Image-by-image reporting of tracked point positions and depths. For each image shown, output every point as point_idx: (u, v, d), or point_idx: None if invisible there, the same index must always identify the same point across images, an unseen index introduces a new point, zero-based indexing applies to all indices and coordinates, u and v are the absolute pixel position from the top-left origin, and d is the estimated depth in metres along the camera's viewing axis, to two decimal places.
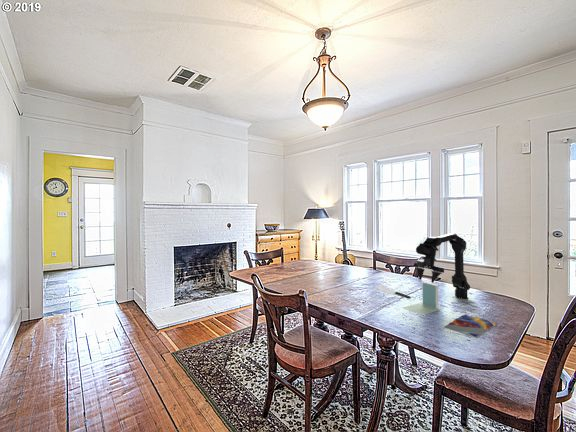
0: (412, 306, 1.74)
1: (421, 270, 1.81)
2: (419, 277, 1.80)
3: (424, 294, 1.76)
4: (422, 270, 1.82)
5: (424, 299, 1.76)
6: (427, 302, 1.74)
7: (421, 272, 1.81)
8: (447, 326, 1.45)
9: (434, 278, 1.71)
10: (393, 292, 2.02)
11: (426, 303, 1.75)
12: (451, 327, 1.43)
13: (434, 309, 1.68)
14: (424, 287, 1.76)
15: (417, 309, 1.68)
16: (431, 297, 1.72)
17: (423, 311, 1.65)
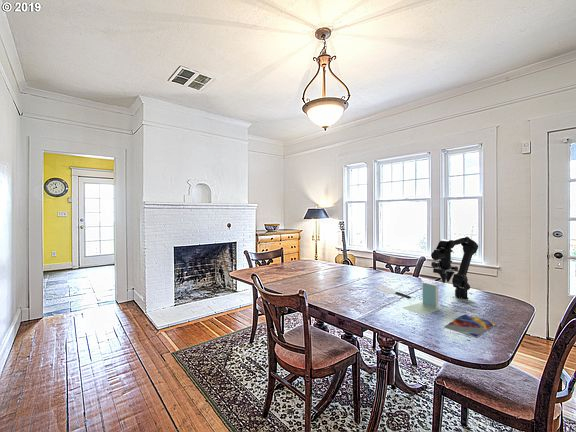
0: (412, 306, 1.74)
1: (448, 273, 1.85)
2: None
3: (424, 294, 1.76)
4: (449, 273, 1.84)
5: (424, 299, 1.76)
6: (427, 302, 1.74)
7: (448, 275, 1.85)
8: (447, 326, 1.45)
9: (442, 279, 1.82)
10: (393, 292, 2.02)
11: (426, 303, 1.75)
12: (451, 327, 1.43)
13: (434, 309, 1.68)
14: (424, 287, 1.76)
15: (417, 309, 1.68)
16: (431, 297, 1.72)
17: (423, 311, 1.65)
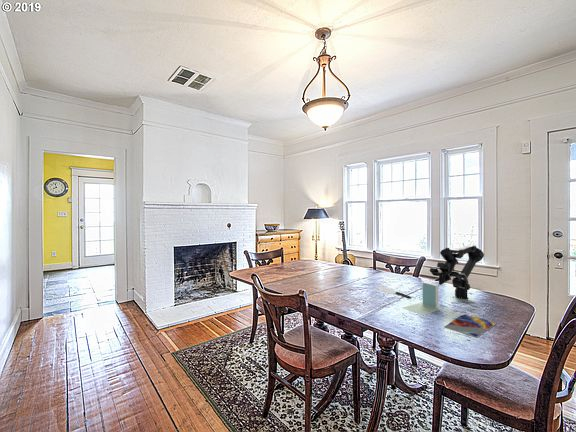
0: (412, 306, 1.74)
1: None
2: (439, 282, 1.79)
3: (424, 294, 1.76)
4: None
5: (424, 299, 1.76)
6: (427, 302, 1.74)
7: None
8: (447, 326, 1.45)
9: (443, 281, 1.78)
10: (393, 292, 2.02)
11: (426, 303, 1.75)
12: (451, 327, 1.43)
13: (434, 309, 1.68)
14: (424, 287, 1.76)
15: (417, 309, 1.68)
16: (431, 297, 1.72)
17: (423, 311, 1.65)
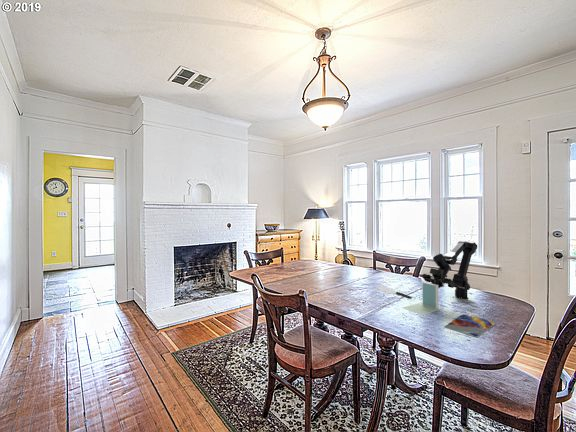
0: (412, 306, 1.74)
1: (435, 283, 1.77)
2: None
3: (424, 294, 1.76)
4: None
5: (424, 299, 1.76)
6: (427, 302, 1.74)
7: None
8: (447, 326, 1.45)
9: None
10: (394, 292, 2.02)
11: (426, 303, 1.75)
12: (451, 327, 1.43)
13: (434, 309, 1.68)
14: (424, 287, 1.76)
15: (417, 309, 1.68)
16: (431, 297, 1.72)
17: (423, 311, 1.65)
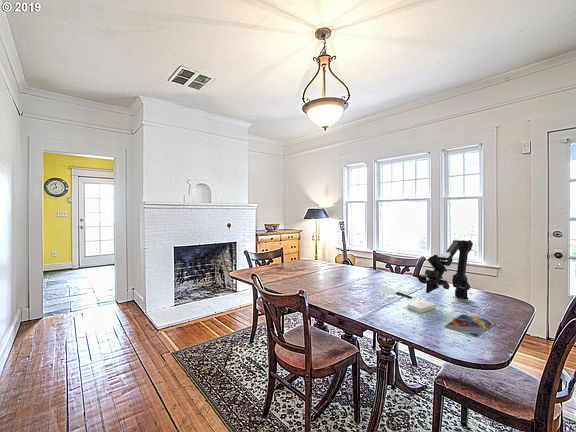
0: None
1: None
2: (426, 290, 1.73)
3: None
4: None
5: None
6: None
7: None
8: (447, 326, 1.45)
9: (430, 289, 1.72)
10: (394, 292, 2.02)
11: None
12: (451, 327, 1.43)
13: (434, 309, 1.68)
14: None
15: None
16: None
17: None
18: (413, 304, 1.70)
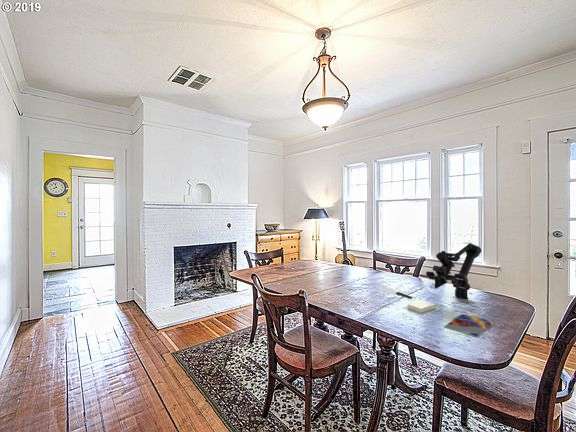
0: None
1: None
2: (435, 285, 1.77)
3: None
4: None
5: None
6: None
7: None
8: (447, 326, 1.45)
9: (439, 285, 1.77)
10: (394, 292, 2.02)
11: None
12: (451, 327, 1.43)
13: (434, 309, 1.68)
14: None
15: None
16: None
17: None
18: (413, 304, 1.70)
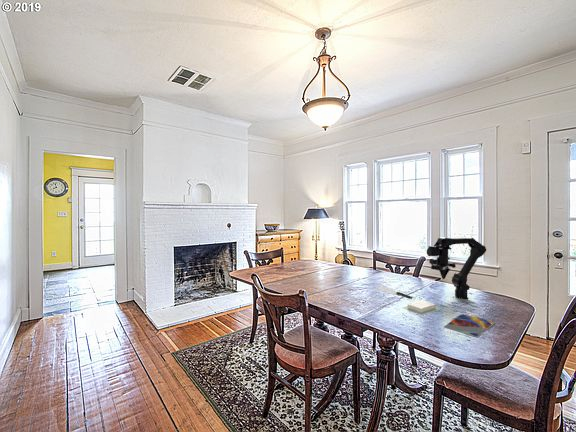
0: None
1: None
2: None
3: None
4: None
5: None
6: None
7: None
8: (447, 326, 1.45)
9: (442, 274, 1.89)
10: (394, 292, 2.02)
11: None
12: (451, 327, 1.43)
13: (434, 309, 1.68)
14: None
15: None
16: None
17: None
18: (413, 304, 1.70)
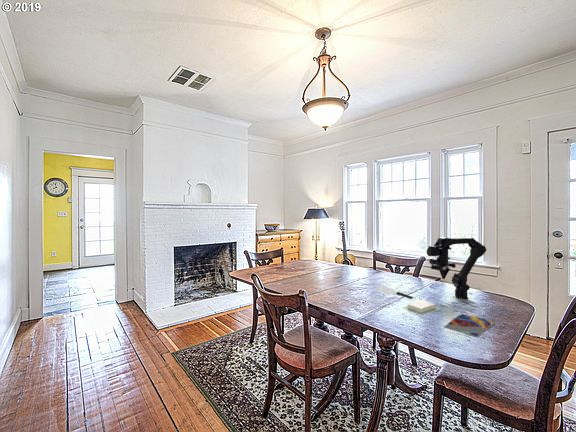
0: None
1: None
2: None
3: None
4: None
5: None
6: None
7: None
8: (447, 326, 1.45)
9: (442, 274, 1.89)
10: (394, 292, 2.02)
11: None
12: (451, 327, 1.44)
13: (434, 309, 1.68)
14: None
15: None
16: None
17: None
18: (413, 304, 1.70)
